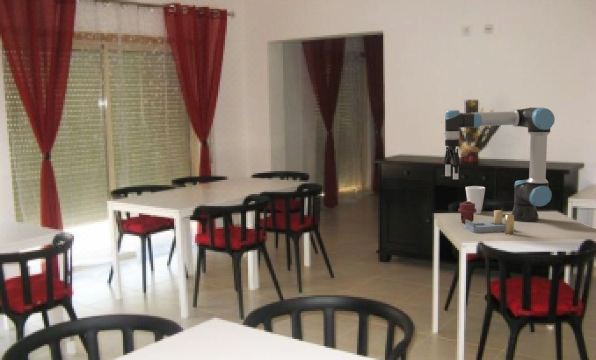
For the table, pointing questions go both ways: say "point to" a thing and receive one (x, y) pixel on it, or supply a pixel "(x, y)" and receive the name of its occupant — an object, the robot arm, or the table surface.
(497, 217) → the jig
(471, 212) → the mechanical component
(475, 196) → the cup
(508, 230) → the bushing
